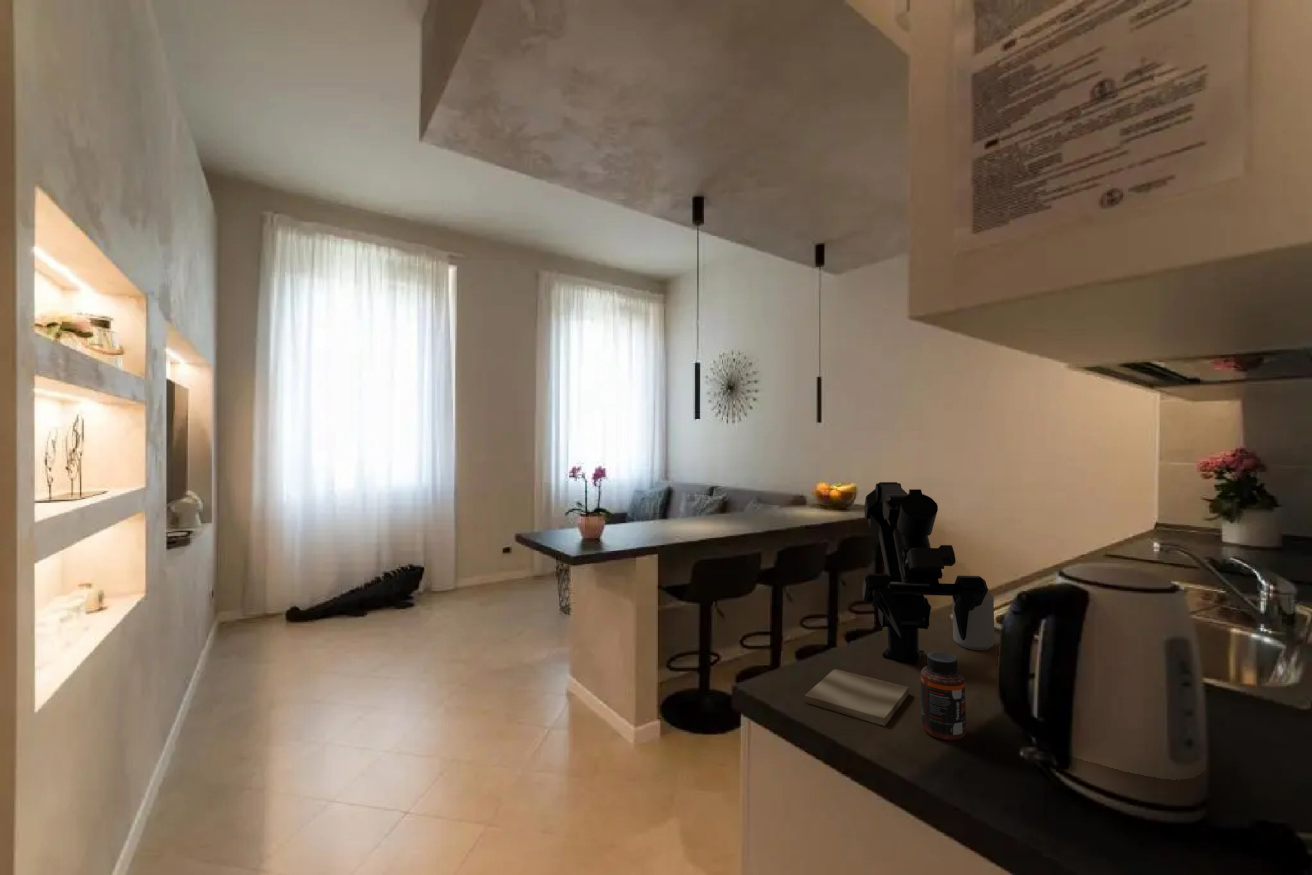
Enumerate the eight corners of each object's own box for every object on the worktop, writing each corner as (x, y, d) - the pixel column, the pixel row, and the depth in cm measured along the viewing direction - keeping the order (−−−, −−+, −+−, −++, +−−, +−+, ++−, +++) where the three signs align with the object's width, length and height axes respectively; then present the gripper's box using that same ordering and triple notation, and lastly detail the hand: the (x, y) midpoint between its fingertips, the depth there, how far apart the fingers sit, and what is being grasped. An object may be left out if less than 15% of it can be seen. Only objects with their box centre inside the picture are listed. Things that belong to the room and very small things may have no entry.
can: (947, 637, 122) (946, 582, 122) (985, 638, 121) (983, 582, 121) (961, 651, 114) (960, 592, 114) (1001, 652, 113) (1000, 592, 113)
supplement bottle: (972, 744, 81) (970, 665, 81) (927, 741, 82) (925, 663, 82) (958, 723, 87) (957, 649, 87) (917, 720, 88) (915, 647, 88)
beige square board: (834, 675, 105) (834, 668, 105) (908, 694, 97) (908, 687, 97) (804, 702, 95) (804, 695, 95) (884, 726, 87) (884, 718, 87)
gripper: (862, 526, 97) (875, 610, 86) (982, 527, 93) (1011, 615, 82) (857, 562, 105) (868, 643, 94) (967, 564, 101) (992, 649, 90)
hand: (932, 637), depth 90 cm, fingers open, 9 cm apart
